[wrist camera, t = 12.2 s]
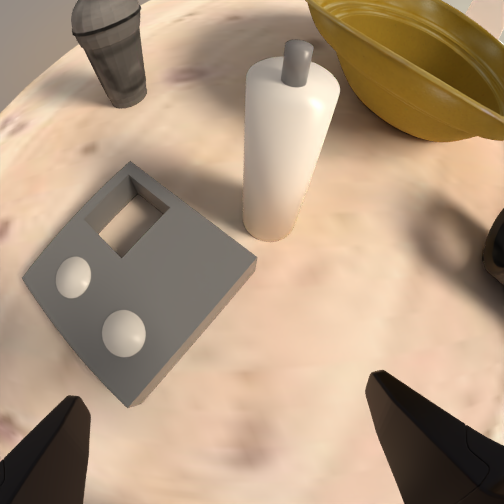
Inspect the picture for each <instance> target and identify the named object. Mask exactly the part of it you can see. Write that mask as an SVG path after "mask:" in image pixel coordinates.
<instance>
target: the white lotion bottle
mask: <svg viewBox="0 0 504 504" xmlns="http://www.w3.org/2000/svg"><path fill="white" fill-rule="evenodd" d="M313 50H314V47H313V46H312V45H311V44H310V43H308V42H306V41H302V40H289V41H287V42H286V44H285V52H284V57H272V58H267V59H264V60H261V61H259V62H257V63H255V64H254V65H253V66H252V67H251V68H250V69H249V70H248V72H247V75H246V97H245V133H244V173H243V223H244V226H245V228H246V230H247V231H248V232H249V233H250V234H251V235H252V236H253V237H255V238H256V239H258V240H261V241H265V242H275V241H279V240H282V239H284V238H285V237H287V236H288V235H289V234H290V233H291V231H292V230H293V228H294V225H295V222H296V220H297V217H298V214H299V211H300V209H301V206H302V203H303V200H304V197H305V195H306V192H307V189H308V186H309V183H310V180H311V178H312V175H313V172H314V169H315V166H316V163H317V160H318V157H319V154H320V151H321V148H322V146H323V143H324V140H325V137H326V134H327V131H328V128H329V125H330V122H331V119H332V116H333V113H334V110H335V107H336V103H337V100H338V97H339V94H340V87H339V84H338V81H337V80H336V78H335V77H334V76H333V75H332V74H331V73H330V72H329V71H328V70H326V69H325V68H323V67H322V66H320V65H318V64H316V63H313V62H311V59H312V54H313Z"/></svg>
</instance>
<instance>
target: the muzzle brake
mask: <svg viewBox="0 0 504 504" xmlns="http://www.w3.org/2000/svg"><path fill="white" fill-rule="evenodd" d="M482 261H484V265H485V268H486V270H487V272H488V273H490V274H491V275H492V276H493V277H494V278H496V279H497V280H498V281H499V282H501V283H502V284H503V285H504V208H503V210H502V211H501V212H500V214H499V215H498V217H497V218H496V220H495V221H494V223H493V225H492V227H491V229H490V232H489V234H488V237H487V240H486V244H485V248H484V251H483V256H482Z"/></svg>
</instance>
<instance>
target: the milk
mask: <svg viewBox="0 0 504 504" xmlns="http://www.w3.org/2000/svg"><path fill="white" fill-rule="evenodd" d="M465 15H466V16H468V17H469V18H471V19H472V20H474V21H475V22H476V23H478V24H479V25H480V26H482V27H483V28H484V29H485V30H487V31H488V32H489V33H490V34H491V35H493V36H494V37H495V38H496V39H497V40H498V39H499V37H500V35H501V33H502V31H503V29H504V0H473V1H472V2H471V4H470V6H469V8H468V10H467V12H466V14H465Z"/></svg>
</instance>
